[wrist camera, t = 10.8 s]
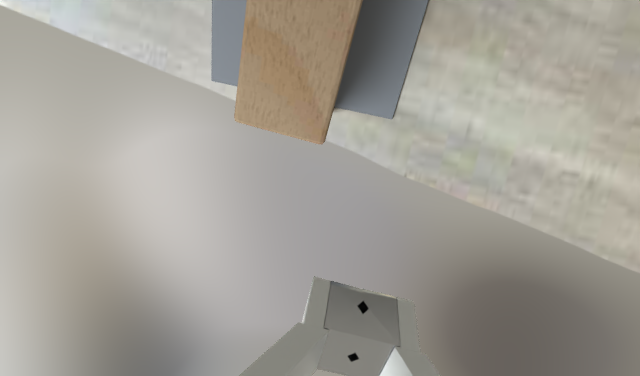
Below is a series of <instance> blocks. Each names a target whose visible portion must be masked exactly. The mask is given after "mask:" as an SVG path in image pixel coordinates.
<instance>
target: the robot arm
mask: <svg viewBox="0 0 640 376" xmlns="http://www.w3.org/2000/svg"><path fill="white" fill-rule="evenodd" d="M316 369H319V370H324V371H328V372H333V373H337V374H342V375H346V376H441V375H440V373H439V372H438V370H437V369H436V368H435V366H434V365H433V363H432V362H431V360H430V359H429V358H428V356H427V355H426V354H424V353H421V351H420V343H419V335H418V328H417V319H416V312H415V304H414V302H413V301H411V300H408V299H403V298H399V297H394V296H391V295H387V294H383V293H378V292H374V291H370V290H365V289H359V288H356V287H352V286H349V285H345V284H341V283H338V282H334V281H329V280H325V279H322V278H317V277H314V278H313V281H312V285H311V289H310V293H309V296H308V300H307V304H306V308H305V312H304V316H303V321H302V323H297V324H296V325H295V326H294V327H293V328H292V329H291V330H290V331H288V332H287V333H286V334H285V335H284V336H283V337H282V338H281V339H279V341H277V342H276V343H275V344H274V345H273V346H272V347H271V348H270V349H268V350H267V351H266V352H265V353H264V354H263V355H262V356H261V357H259V358H258V359H257V360H256V361H255V362H254V363H253V364H252V365H251V366H250V367H248V368H247V369H246V370H245V371H244V372H243V373H242V374H240V375H239V376H312V375H313V374H314V373H315V371H316Z"/></svg>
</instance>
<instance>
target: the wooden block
mask: <svg viewBox="0 0 640 376" xmlns="http://www.w3.org/2000/svg"><path fill="white" fill-rule="evenodd" d="M362 2H363V0H247V2H246V11H245V21H244V30H243V39H242V49H241V58H240V68H239V77H238V86H237V96H236V105H235V114H234V118H235V121H237V122H239V123H243V124H247V125H250V126H254V127H257V128H261V129H265V130H268V131H272V132H276V133H280V134H283V135H287V136H290V137H294V138H298V139H301V140H305V141H309V142H313V143H316V144H323V143H324V142H325V139H326V135H327V132H328V128H329V124H330V120H331V117H332V113H333V109H334V106H335V102H336V98H337V94H338V91H339V87H340V83H341V80H342V76H343V72H344V68H345V65H346V61H347V57H348V54H349V50H350V46H351V43H352V39H353V35H354V31H355V28H356V24H357V20H358V17H359V13H360V9H361V5H362Z"/></svg>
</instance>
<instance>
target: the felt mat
mask: <svg viewBox="0 0 640 376" xmlns="http://www.w3.org/2000/svg"><path fill="white" fill-rule="evenodd" d="M246 2H247V0H212V81H215V82H220V83H224V84H229V85H234V86H238V77H239V68H240V58H241V49H242V39H243V30H244V21H245V11H246ZM427 3H428V0H363V2H362V5H361V9H360V13H359V17H358V20H357V24H356V28H355V31H354V35H353V39H352V43H351V46H350V50H349V54H348V57H347V61H346V65H345V68H344V72H343V76H342V80H341V83H340V87H339V91H338V94H337V98H336V102H335V106H334V107H337V108H341V109H346V110H351V111H355V112H360V113H365V114H369V115H374V116H379V117H383V118H388V119H392V118H393V115H394V111H395V108H396V105H397V101H398V98H399V95H400V92H401V88H402V85H403V82H404V79H405V75H406V72H407V69H408V65H409V62H410V59H411V56H412V52H413V49H414V46H415V43H416V39H417V36H418V33H419V29H420V26H421V23H422V20H423V16H424V13H425V10H426V7H427Z"/></svg>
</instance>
